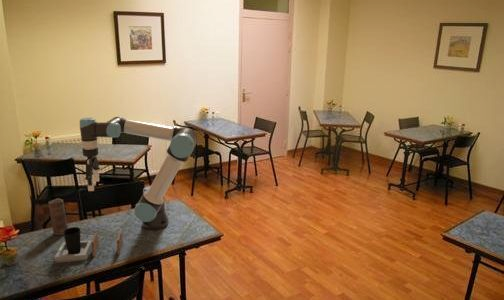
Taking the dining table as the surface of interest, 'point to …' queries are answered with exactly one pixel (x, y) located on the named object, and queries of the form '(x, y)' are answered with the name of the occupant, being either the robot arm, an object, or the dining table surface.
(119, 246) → the beige holder
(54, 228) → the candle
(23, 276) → the dining table surface
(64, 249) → the dock
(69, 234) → the cup
